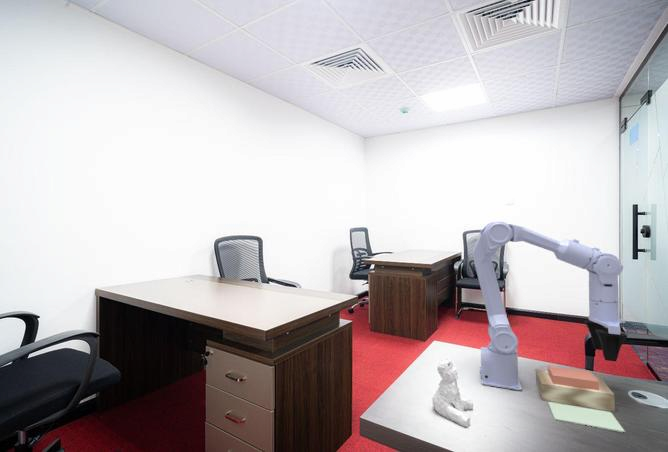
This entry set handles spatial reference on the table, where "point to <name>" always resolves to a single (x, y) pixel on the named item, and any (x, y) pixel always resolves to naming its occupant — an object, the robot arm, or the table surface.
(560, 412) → the mat
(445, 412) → the seated beast figurine
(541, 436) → the table surface
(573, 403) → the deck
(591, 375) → the salmon pink block
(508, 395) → the table surface
